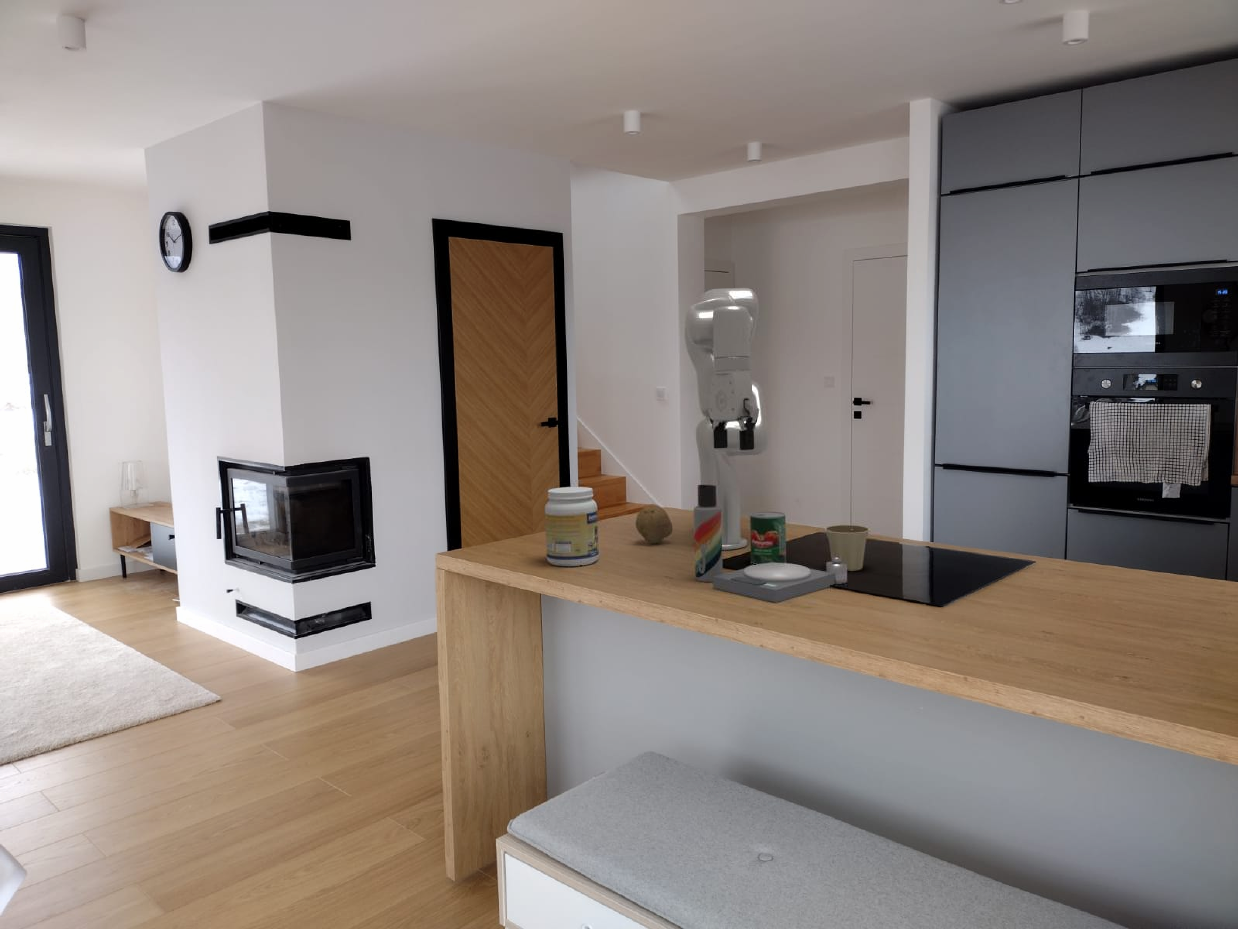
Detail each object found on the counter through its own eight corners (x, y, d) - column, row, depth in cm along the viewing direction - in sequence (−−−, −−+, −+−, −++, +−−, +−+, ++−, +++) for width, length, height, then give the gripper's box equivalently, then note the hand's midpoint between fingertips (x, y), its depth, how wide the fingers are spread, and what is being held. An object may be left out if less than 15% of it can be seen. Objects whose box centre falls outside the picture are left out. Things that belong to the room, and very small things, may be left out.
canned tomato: (784, 558, 200) (784, 510, 199) (787, 566, 193) (787, 516, 192) (749, 559, 201) (748, 511, 200) (751, 566, 194) (750, 517, 192)
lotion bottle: (691, 581, 182) (688, 485, 180) (701, 575, 187) (699, 481, 185) (716, 583, 180) (714, 486, 178) (726, 577, 185) (724, 482, 183)
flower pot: (859, 575, 183) (859, 534, 182) (817, 570, 188) (817, 530, 187) (876, 566, 190) (876, 526, 189) (835, 561, 196) (835, 523, 195)
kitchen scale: (713, 588, 176) (712, 572, 175) (772, 572, 187) (771, 558, 187) (775, 602, 164) (775, 586, 163) (834, 585, 175) (834, 569, 175)
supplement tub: (598, 567, 198) (595, 492, 196) (544, 568, 199) (541, 493, 197) (600, 555, 210) (597, 484, 209) (549, 556, 211) (546, 486, 209)
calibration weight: (822, 583, 177) (822, 557, 177) (834, 579, 180) (834, 554, 179) (838, 586, 174) (838, 560, 174) (851, 582, 177) (850, 557, 176)
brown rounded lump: (631, 541, 226) (629, 503, 225) (663, 538, 229) (662, 500, 228) (642, 548, 218) (641, 508, 216) (676, 544, 220) (675, 505, 219)
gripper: (694, 368, 189) (696, 448, 190) (740, 364, 173) (742, 451, 175) (724, 368, 192) (725, 446, 193) (771, 364, 177) (773, 449, 178)
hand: (733, 449), depth 184 cm, fingers open, 9 cm apart
